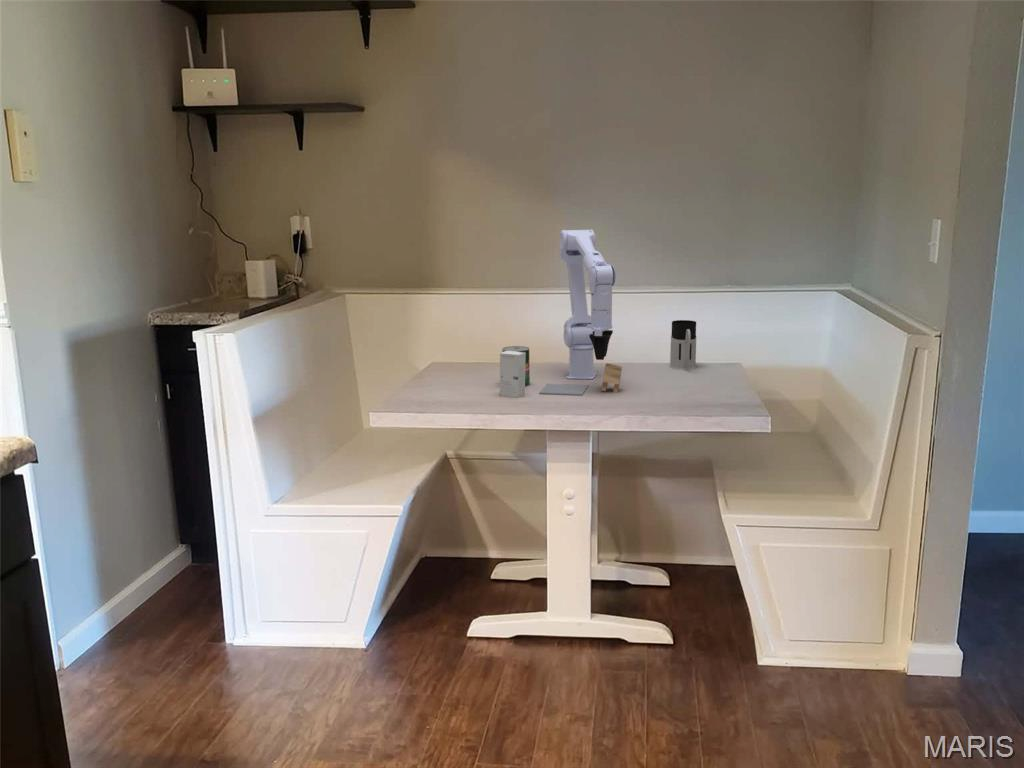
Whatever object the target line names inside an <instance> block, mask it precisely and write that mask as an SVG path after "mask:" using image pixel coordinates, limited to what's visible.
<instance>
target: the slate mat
mask: <svg viewBox="0 0 1024 768" xmlns="http://www.w3.org/2000/svg"><path fill="white" fill-rule="evenodd" d="M588 388H589V385H588V384H568V383H567V384H565V383H547V384H546V385H545V386H544V387H542V389H541V390H540V391H539V393H538V395H546V396H547V395H548V396H551V395H552V396H572V397H573V396H575V397H576V396H577V397H582V396H584V394H585V393H586V391H587V389H588Z"/></svg>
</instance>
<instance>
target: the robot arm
mask: <svg viewBox="0 0 1024 768" xmlns="http://www.w3.org/2000/svg"><path fill="white" fill-rule="evenodd" d="M558 245H559V246H558V248H559V256H560V260H562V261H563V262H565V264H566V269H567V276H568V288H569V296H570V297H569V299H570V307H571V308H570V309H571V316H570V317H569V318H568V319H566V320H565V322H564V323H563V324H564V325H563V343H564V345H565V346H566V347H567V348H568V349H569V350H568V351H569V354H568V355H569V356H568V357H569V363H568V364H569V367H568V369H569V372H568V375H567V376H566V377H565V378H566V379H569V380H593V379H594V378H595V376H596V375H597V374H598V372H597V371H594V369H595V368H594V367H595V366H594V364H595V363H594V361H595V360H597V361H604V360H605V357H607V354H608V348H609V343H610V340H611V337H612V334H613V332H614V331H613V330H612V329H613V324H612V323H613V322H612V321H613V286H615V283H616V277H617V276H616V269H615V267H614V265H613V264H610V263H609V264H607V262H606V260H605V258H604V256H603V255H602V253H601V252H600V251H599V250H596V249H595V246H596V233H595V232H594V230H593V229H592V228H591V229H590V228H589V229H572V230H571V229H570V230H569V229H568V230H567V229H562V230H561V231H560V233H559V238H558ZM584 268H585V270H586V271H587V273H588V275H587V278H588V279H587V281H588V285H589V286H588V287H589V293H590V294H591V295H590V297H591V298H590V299H591V300H590V314H589V313H588V312H589V310H588V301H587V291H586V283H585V282H586V279H585V273H584ZM594 356H595V360H594Z"/></svg>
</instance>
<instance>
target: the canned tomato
mask: <svg viewBox="0 0 1024 768" xmlns="http://www.w3.org/2000/svg"><path fill="white" fill-rule="evenodd" d="M505 351H517V352H525V353H526V360H525V388H526V387H529V386H530V385H531V383H530V377H531V375H530V374H531V373H530V372H531V371H530V347H528V346H524V345H512V346H505V347H502V351H501V353H502V352H505Z"/></svg>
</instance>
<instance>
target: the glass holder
mask: <svg viewBox="0 0 1024 768" xmlns="http://www.w3.org/2000/svg"><path fill="white" fill-rule="evenodd" d="M669 361H670V362H669V363H670V364H669V369H671V370H676V371H690V370H691V371H692V370H695V369H697V366H696V361H697V321H695V320H689V319H688V320H684V319H680V320H679V319H678V320H672V321H671V335H670V360H669Z"/></svg>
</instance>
